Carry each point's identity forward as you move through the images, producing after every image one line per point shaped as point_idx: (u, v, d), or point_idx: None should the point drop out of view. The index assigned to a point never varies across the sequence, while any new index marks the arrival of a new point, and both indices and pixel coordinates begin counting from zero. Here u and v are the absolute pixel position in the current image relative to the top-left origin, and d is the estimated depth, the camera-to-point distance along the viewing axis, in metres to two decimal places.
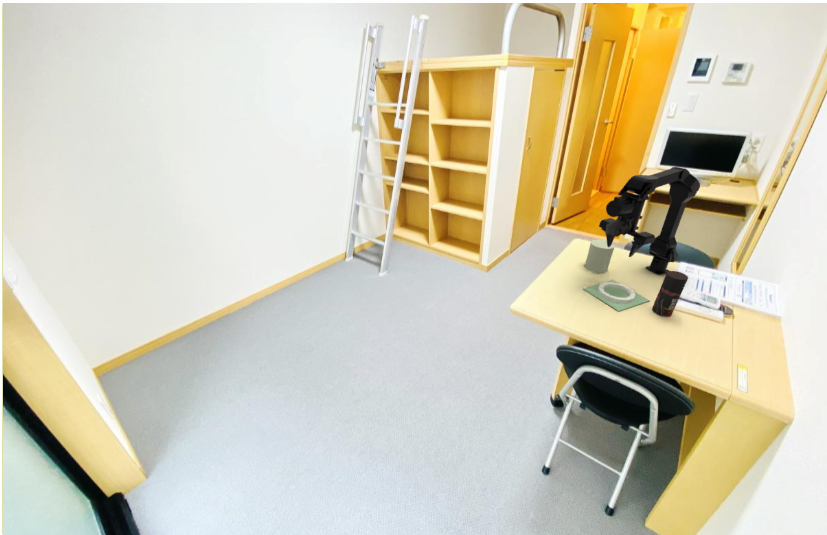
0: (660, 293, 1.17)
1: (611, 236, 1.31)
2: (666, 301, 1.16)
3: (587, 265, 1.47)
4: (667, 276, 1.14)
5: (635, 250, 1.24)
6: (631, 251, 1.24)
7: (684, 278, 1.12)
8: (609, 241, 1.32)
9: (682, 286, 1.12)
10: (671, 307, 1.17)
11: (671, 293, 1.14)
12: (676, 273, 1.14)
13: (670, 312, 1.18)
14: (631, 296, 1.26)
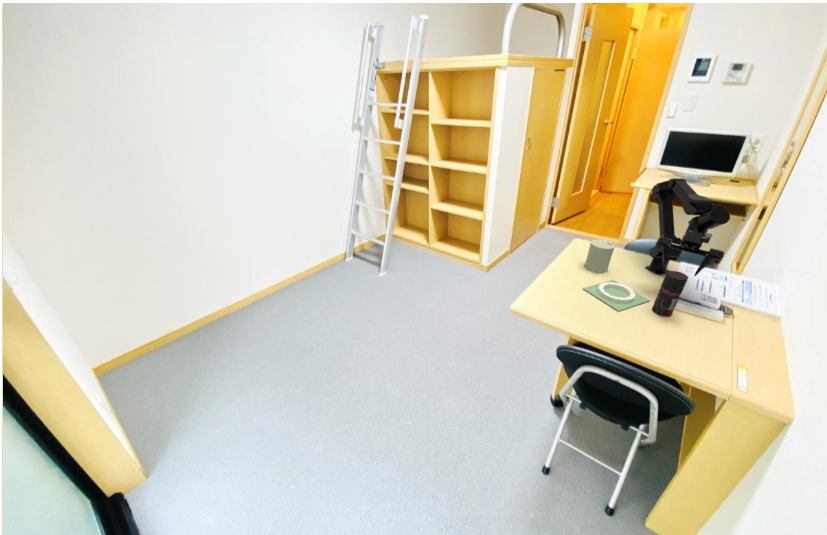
0: (660, 293, 1.17)
1: (667, 256, 1.23)
2: (666, 301, 1.16)
3: (587, 265, 1.47)
4: (667, 276, 1.14)
5: (702, 268, 1.17)
6: (700, 268, 1.16)
7: (684, 278, 1.12)
8: None
9: (682, 286, 1.12)
10: (671, 307, 1.17)
11: (671, 293, 1.14)
12: (676, 273, 1.14)
13: (670, 312, 1.18)
14: (631, 296, 1.26)
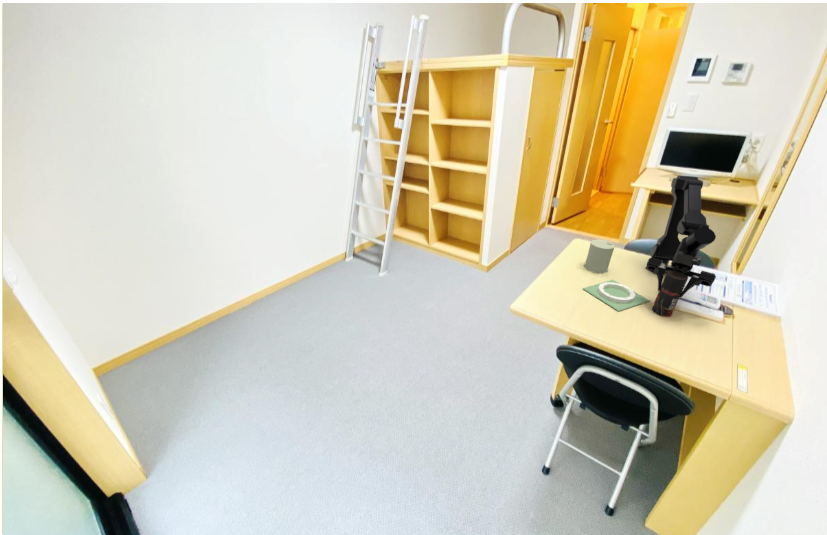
0: (660, 293, 1.17)
1: (662, 279, 1.18)
2: (666, 301, 1.16)
3: (587, 265, 1.47)
4: (667, 276, 1.14)
5: (687, 290, 1.14)
6: (685, 289, 1.13)
7: (684, 278, 1.12)
8: (661, 283, 1.18)
9: (682, 286, 1.12)
10: (671, 307, 1.17)
11: (671, 293, 1.14)
12: (676, 273, 1.14)
13: (670, 312, 1.18)
14: (631, 296, 1.26)
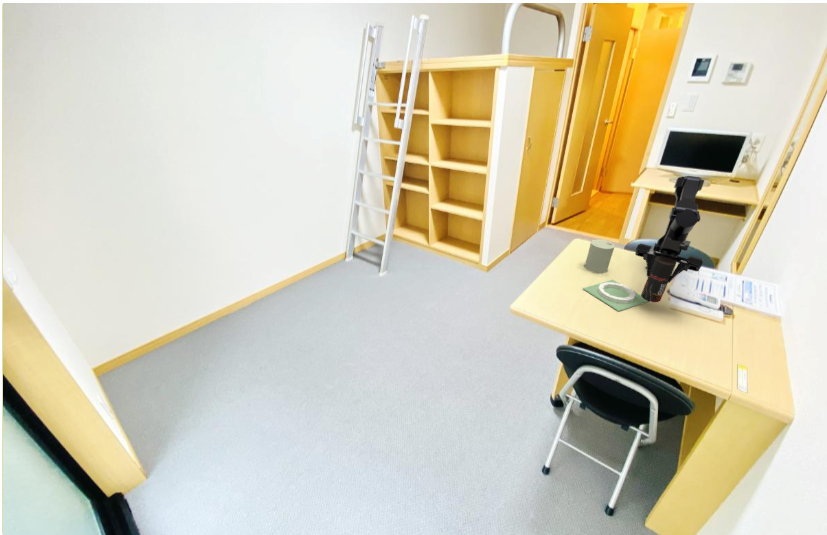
0: (649, 279, 1.18)
1: (651, 264, 1.19)
2: (654, 287, 1.17)
3: (587, 265, 1.47)
4: (655, 262, 1.15)
5: (676, 275, 1.15)
6: (673, 274, 1.14)
7: (672, 263, 1.13)
8: (650, 269, 1.18)
9: (670, 271, 1.13)
10: (660, 293, 1.18)
11: (659, 278, 1.15)
12: (664, 259, 1.15)
13: (659, 297, 1.19)
14: (631, 296, 1.26)
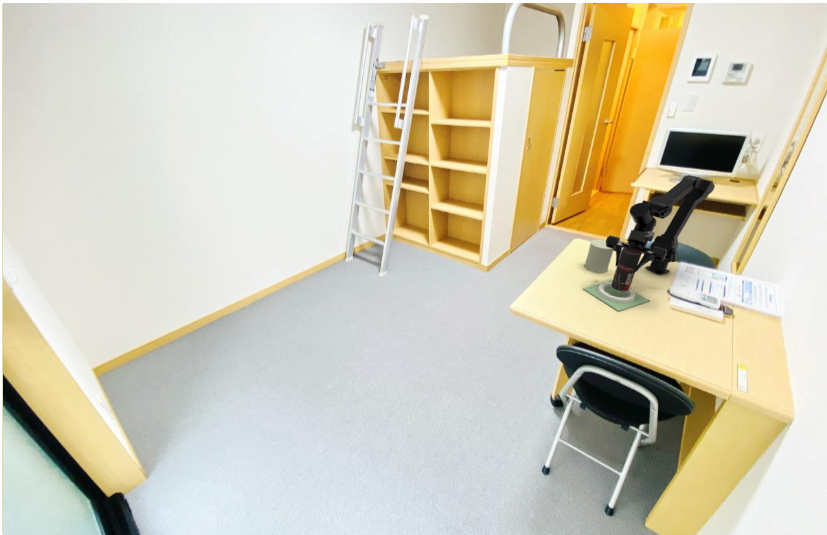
0: (617, 269, 1.24)
1: (620, 255, 1.25)
2: (622, 276, 1.23)
3: (587, 265, 1.47)
4: (623, 252, 1.21)
5: (642, 265, 1.21)
6: (640, 264, 1.20)
7: (637, 253, 1.19)
8: (618, 259, 1.25)
9: (636, 261, 1.19)
10: (627, 282, 1.24)
11: (626, 268, 1.21)
12: (631, 249, 1.21)
13: (627, 287, 1.25)
14: (631, 296, 1.26)
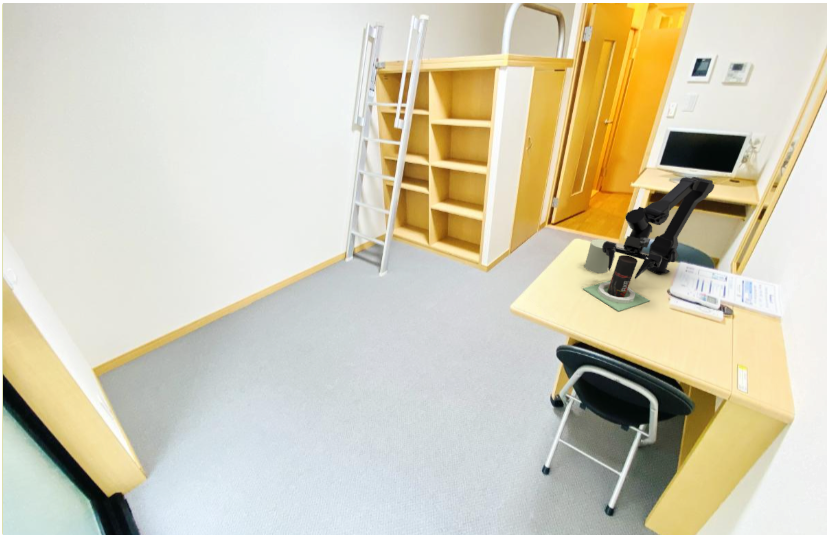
0: (613, 276, 1.26)
1: (612, 260, 1.28)
2: (618, 283, 1.25)
3: (587, 265, 1.47)
4: (619, 260, 1.23)
5: (641, 271, 1.22)
6: (639, 271, 1.21)
7: (633, 261, 1.21)
8: (611, 264, 1.27)
9: (632, 269, 1.21)
10: (623, 289, 1.26)
11: (622, 275, 1.23)
12: (627, 257, 1.23)
13: (623, 294, 1.27)
14: (631, 296, 1.26)
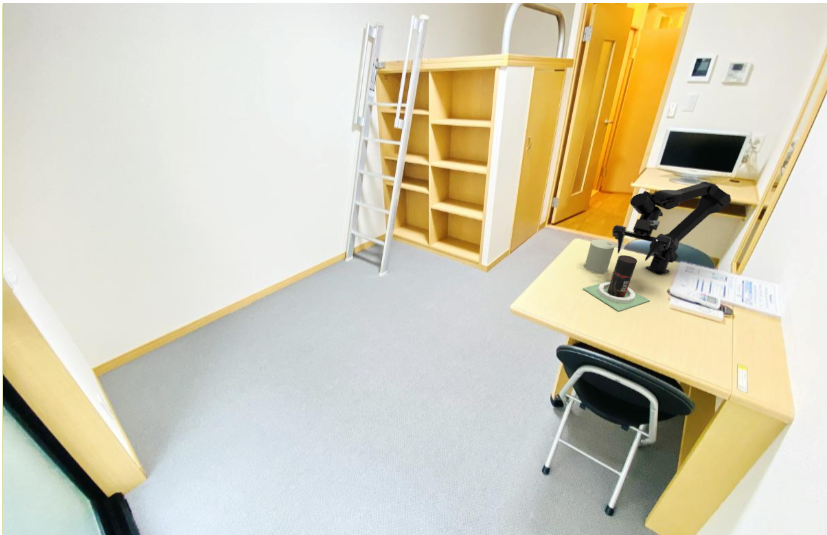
0: (613, 276, 1.26)
1: (622, 243, 1.32)
2: (618, 283, 1.25)
3: (587, 265, 1.47)
4: (618, 260, 1.23)
5: (652, 254, 1.26)
6: (649, 253, 1.25)
7: (633, 261, 1.21)
8: (620, 246, 1.31)
9: (632, 269, 1.21)
10: (623, 289, 1.26)
11: (622, 275, 1.23)
12: (627, 257, 1.23)
13: (622, 294, 1.27)
14: (631, 296, 1.26)
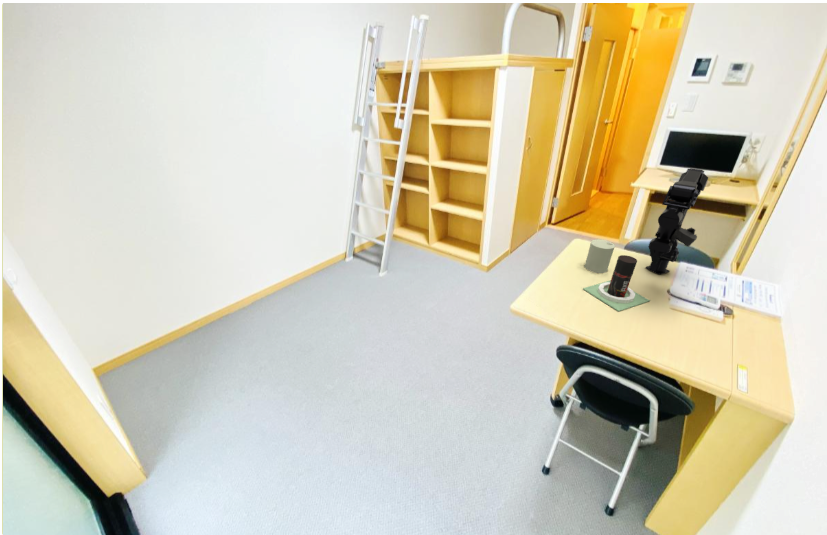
0: (613, 276, 1.26)
1: None
2: (618, 283, 1.25)
3: (587, 265, 1.47)
4: (618, 260, 1.23)
5: None
6: None
7: (633, 261, 1.21)
8: None
9: (632, 269, 1.21)
10: (623, 289, 1.26)
11: (622, 275, 1.23)
12: (627, 257, 1.23)
13: (622, 294, 1.27)
14: (631, 296, 1.26)
